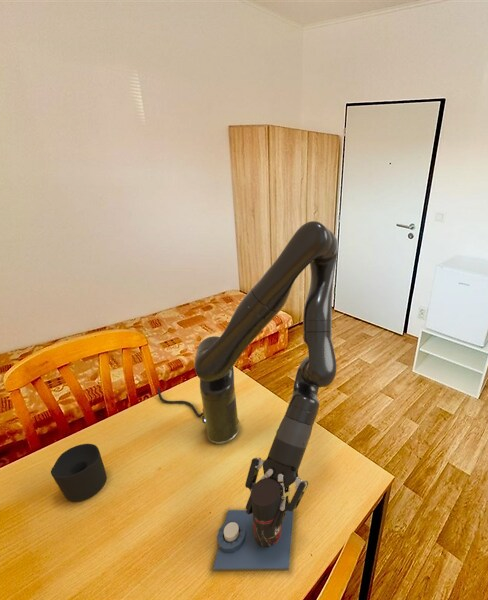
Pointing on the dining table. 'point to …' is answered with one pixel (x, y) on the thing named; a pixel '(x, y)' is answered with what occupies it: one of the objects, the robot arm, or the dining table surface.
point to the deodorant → (265, 511)
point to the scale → (252, 546)
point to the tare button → (231, 531)
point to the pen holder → (79, 472)
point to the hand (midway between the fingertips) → (261, 519)
